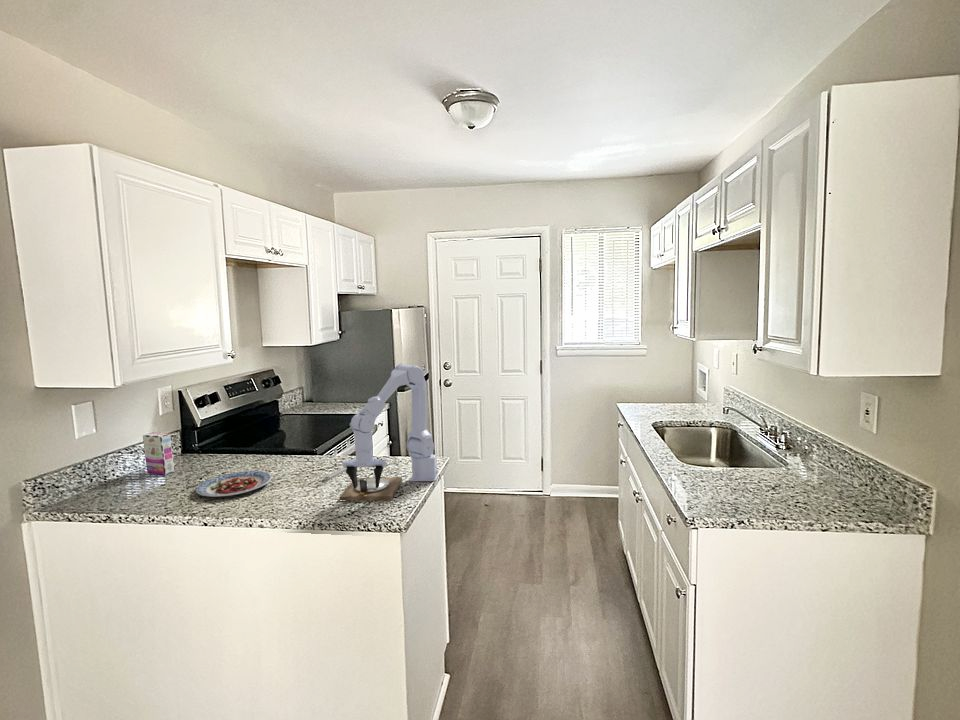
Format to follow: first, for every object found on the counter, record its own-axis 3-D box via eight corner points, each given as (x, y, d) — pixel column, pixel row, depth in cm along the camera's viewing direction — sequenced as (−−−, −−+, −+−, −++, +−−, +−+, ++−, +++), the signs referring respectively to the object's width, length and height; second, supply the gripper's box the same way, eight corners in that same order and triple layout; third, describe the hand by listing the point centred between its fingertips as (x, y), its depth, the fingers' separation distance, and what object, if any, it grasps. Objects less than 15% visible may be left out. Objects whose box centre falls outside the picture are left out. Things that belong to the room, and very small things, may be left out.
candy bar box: (176, 471, 219) (171, 433, 216) (165, 475, 214) (160, 436, 212) (157, 469, 223) (153, 431, 221) (146, 473, 218) (141, 434, 216)
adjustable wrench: (327, 483, 199) (326, 478, 199) (314, 480, 202) (314, 476, 202) (370, 462, 221) (370, 458, 220) (358, 460, 224) (358, 456, 224)
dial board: (402, 481, 196) (401, 476, 196) (391, 500, 178) (391, 495, 178) (355, 482, 197) (354, 477, 197) (339, 501, 179) (339, 496, 179)
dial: (363, 479, 195) (363, 467, 194) (394, 481, 192) (393, 468, 191) (346, 494, 181) (345, 480, 180) (378, 496, 178) (377, 482, 178)
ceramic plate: (286, 477, 206) (285, 470, 205) (239, 504, 181) (239, 495, 181) (231, 474, 213) (230, 467, 212) (179, 499, 188) (178, 491, 188)
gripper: (339, 453, 175) (342, 491, 177) (381, 452, 175) (384, 490, 176) (345, 446, 182) (348, 484, 184) (386, 445, 182) (389, 483, 183)
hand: (366, 487), depth 181 cm, fingers open, 7 cm apart
